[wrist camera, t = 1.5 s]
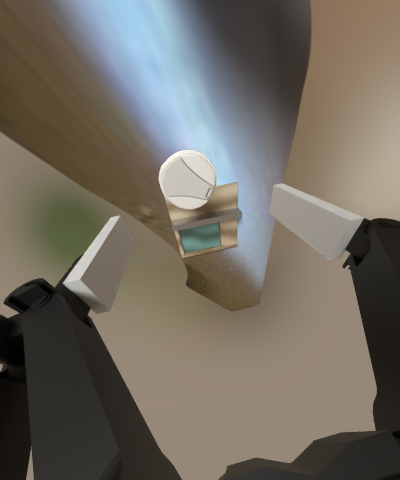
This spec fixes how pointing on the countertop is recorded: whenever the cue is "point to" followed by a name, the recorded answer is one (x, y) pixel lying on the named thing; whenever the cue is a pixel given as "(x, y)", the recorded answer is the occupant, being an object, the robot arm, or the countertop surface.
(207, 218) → the rail
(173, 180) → the coffee cup
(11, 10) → the countertop surface
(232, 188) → the board
